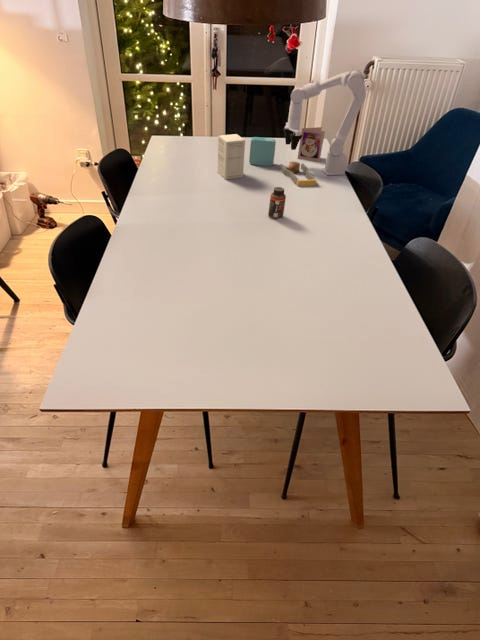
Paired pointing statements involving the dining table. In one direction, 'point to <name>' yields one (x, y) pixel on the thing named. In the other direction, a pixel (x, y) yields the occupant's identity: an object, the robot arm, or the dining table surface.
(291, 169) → the tan rounded capsule
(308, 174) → the keyhole track
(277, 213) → the supplement bottle
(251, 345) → the dining table surface
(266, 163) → the data package
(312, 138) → the greeting card
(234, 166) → the supplement box
